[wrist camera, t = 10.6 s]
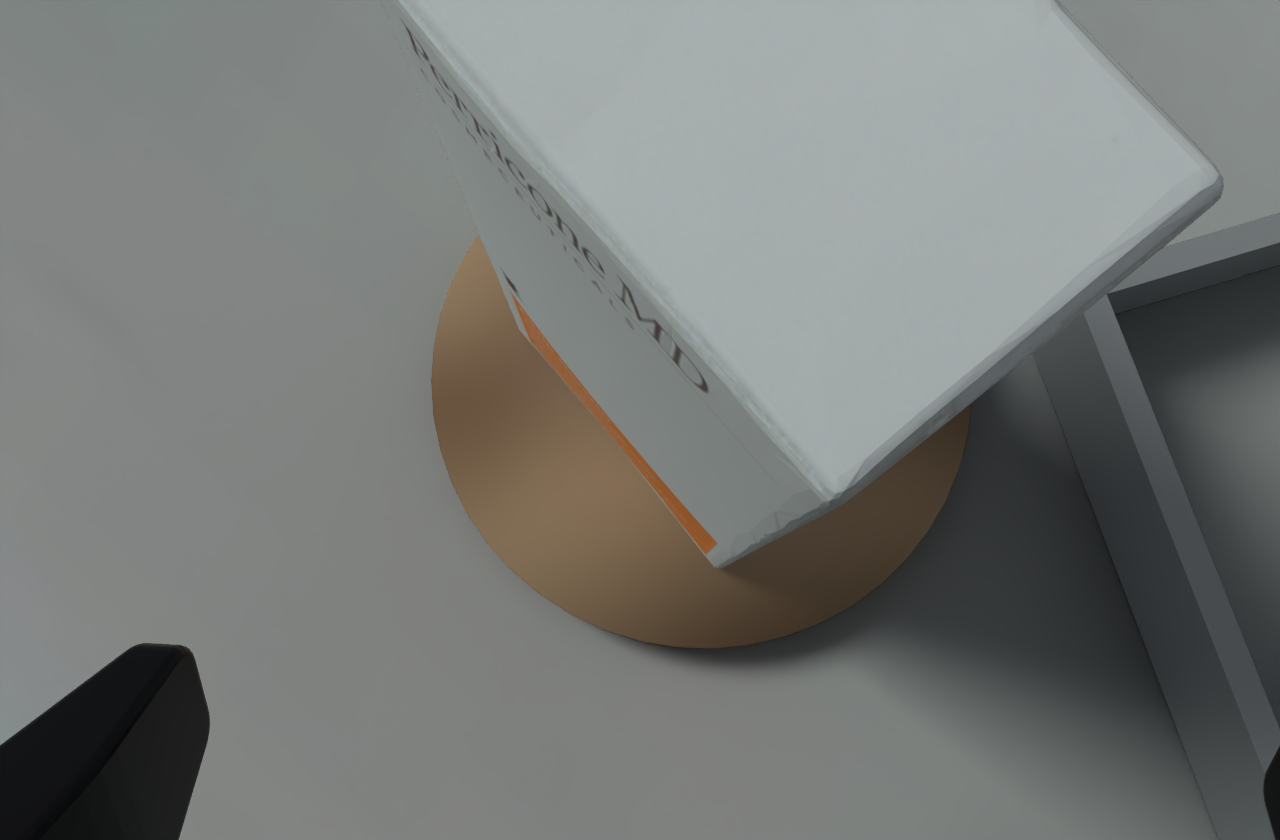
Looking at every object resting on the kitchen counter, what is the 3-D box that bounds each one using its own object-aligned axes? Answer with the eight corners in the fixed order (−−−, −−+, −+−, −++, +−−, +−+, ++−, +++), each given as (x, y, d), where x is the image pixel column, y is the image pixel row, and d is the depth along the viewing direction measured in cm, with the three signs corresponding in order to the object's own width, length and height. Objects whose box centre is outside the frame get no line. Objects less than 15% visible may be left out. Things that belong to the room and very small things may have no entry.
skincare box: (510, 331, 20) (328, -77, 9) (687, 194, 21) (743, -368, 9) (718, 586, 19) (834, 523, 8) (897, 438, 20) (1265, 164, 8)
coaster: (1035, 556, 20) (1051, 553, 20) (518, 717, 20) (513, 720, 19) (860, 81, 22) (868, 61, 21) (383, 218, 22) (373, 202, 21)
